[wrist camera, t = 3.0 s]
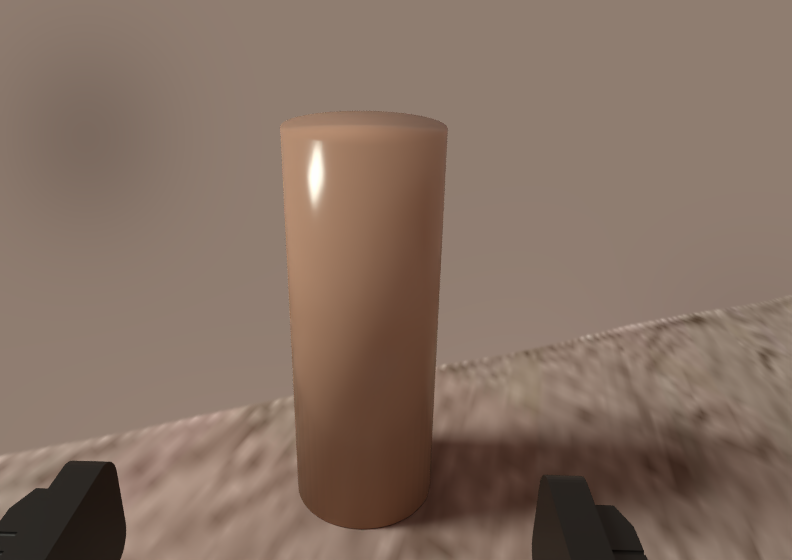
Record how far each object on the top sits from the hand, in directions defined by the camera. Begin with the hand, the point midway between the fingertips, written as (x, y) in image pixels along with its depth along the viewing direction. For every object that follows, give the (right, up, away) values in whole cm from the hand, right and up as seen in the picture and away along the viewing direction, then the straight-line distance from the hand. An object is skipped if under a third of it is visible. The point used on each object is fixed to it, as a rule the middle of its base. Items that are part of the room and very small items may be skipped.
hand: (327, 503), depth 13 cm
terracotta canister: (0, -4, +14) cm, 15 cm away
